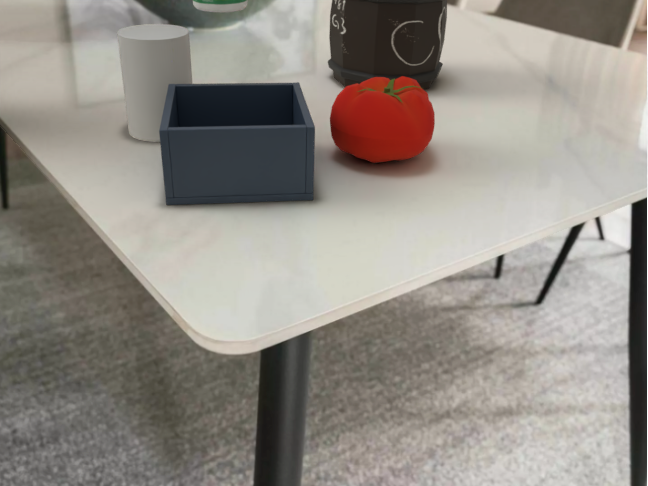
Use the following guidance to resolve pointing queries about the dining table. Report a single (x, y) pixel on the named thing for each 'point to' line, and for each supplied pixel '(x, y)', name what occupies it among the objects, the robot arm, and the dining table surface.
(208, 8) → the supplement bottle
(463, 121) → the dining table surface
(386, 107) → the tomato
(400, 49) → the dark plant pot
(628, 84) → the dining table surface
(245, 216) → the dining table surface
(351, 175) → the dining table surface
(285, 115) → the tote
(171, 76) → the cup
